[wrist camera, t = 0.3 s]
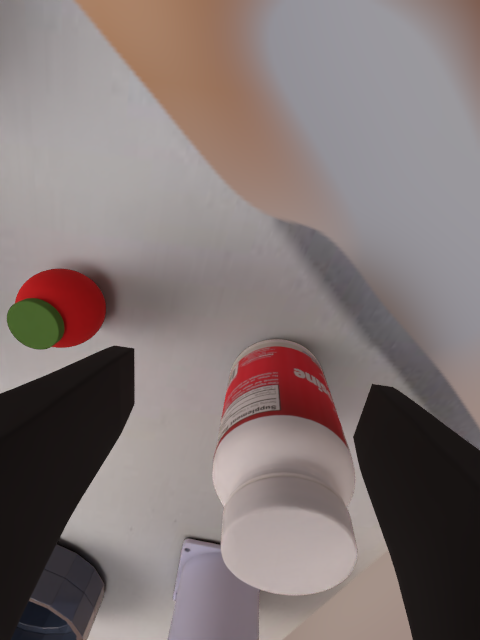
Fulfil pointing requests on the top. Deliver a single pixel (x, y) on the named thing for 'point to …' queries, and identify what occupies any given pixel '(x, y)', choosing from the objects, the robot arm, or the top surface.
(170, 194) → the top surface
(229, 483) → the pill bottle
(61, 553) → the bowl
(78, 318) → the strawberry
